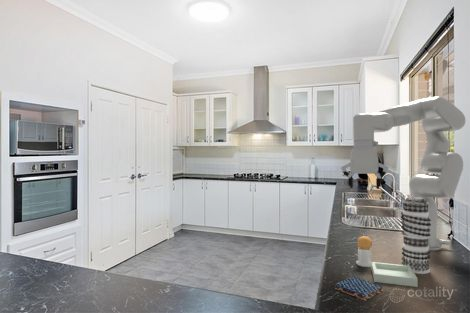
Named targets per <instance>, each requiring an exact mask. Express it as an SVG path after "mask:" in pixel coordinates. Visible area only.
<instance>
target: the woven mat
mask: <svg viewBox="0 0 470 313" xmlns="http://www.w3.org/2000/svg"><path fill="white" fill-rule="evenodd" d="M375 283H376V282H370V280H368V281H366V280H365V279H361V278H359V277H358V278H357V277H356V276H352V277H349V278H346V279H344V280H341V281H338V282H337V283H335V286H334V289H335V290H337V291H340V292H342V293H345V294H348V295H351V296H353V297H354V298H358V299H360V300H363V301H367V300H368V299H372V298H373V297H374V296H376V295H378V294H381V293H382V292H384V289H383V286H381V285H380V284H375Z"/></svg>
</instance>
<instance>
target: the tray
mask: <svg viewBox="0 0 470 313" xmlns="http://www.w3.org/2000/svg"><path fill="white" fill-rule="evenodd" d="M370 269H371V273H372V274H371V275H372V276H373V281H374V282H373V283H381V284H389V285H398V286H406V287H414V288H418V287H419V286H418V282H419V281H418V277H417V276H416V273H414V272H413V270H412V268H411V267H410V266H408V265H402V264H396V263H386V262H377V261H371V267H370Z"/></svg>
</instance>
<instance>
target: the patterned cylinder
mask: <svg viewBox="0 0 470 313" xmlns="http://www.w3.org/2000/svg"><path fill="white" fill-rule="evenodd" d="M402 203H403V206H402V207H403V209H402V212H401V213H400V215H401V216H400V219H401V220H402V221H401V229H402V231H401V235H402V236H403V241H402V242H403V243H402V248H401V251H402V252H401V255H402V257H401V260H402V262H401V265H408V266H410V267H411V268H412V270H413V272H414V273H415V274H419V275H425V274H430V272H431V271H430V268H431V266H430V264H431V261H430V260H429V259H431V256H430V254H431V251H430V250H429V245H428V238H430V234H429V233H428V232H430V229H428V226H430V225H431V224H430V223H428V221H431V219H429V218H428V216H429V212H428V204H429V203H428V202H427V201H426V199H424V198H419V197H411V196H409V197H406V198H405V199H404V200H403V201H402Z"/></svg>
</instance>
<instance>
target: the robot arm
mask: <svg viewBox="0 0 470 313" xmlns="http://www.w3.org/2000/svg"><path fill="white" fill-rule="evenodd" d="M352 121H353V122H352V123H353V125H352V128H353V129H352V130H353V131H352V133H353V148H352V149H351V154H350V162H349V163H347V164H345V165H343V166H341V168H340V169H341V171H342V172H343V174H344V175H345V176H346V177H347V178H348V186H349V188H350V189H353V188H354V177H353V176H354V175H355V174H357V175H358V174H363V175H364V174H365V175H367V174H374V175H375V176H376V182H375V183H376V184H375V185H376V189H377V190H379V188H380V187H381V186H382V183H381V182H382V178H383V177H384V176H385V175H386V174H387V172H388V170H389V167H388V166H387V165H385V164H383V163H380V162H379V155H378V149H377V148H376V147H375V146H378V145H379V141H376V140H375V134H376V133H385V132H389V131H391V130H392V128H393V127H396V128H397V127H401V126H406V125H410V124H413V123H415V122H418V121H421V126H422V128H423V131H424V133H425V135H426V139H427V144H426V148H425V150H424V152H423V156H422V159H421V162H420V170H422V171H423V172H424V173H423V174H422V173H420V174H416V175H413V176H412V177H411V178H410V180H409V183H408V184H409V185H408V186H409V191H410V197H419V198H424V199H426V201H427V202H428V203H429V204H428V212H429V216H428V218H429V219H431V221H428V223H430V224H431V225H430V226H428V229H430V232H428V233H429V234H430V238H428V245H429V251H430V252H433V251H434V252H435V251H441V250H442V248H443V245H446V246H451V245H452V242H451V240H450V239H449V240H448V239H447V240H446V239H442V238H440V237H438V204H437V202H436V201H435V198H436V199H445V200H446V199H450V198H452V197H453V196H454V195H455V193H456V191H457V187H458V185H459V182H460V179H461V176H462V174H463V173H462V172H463V170H464V160H463V157H462V156H461V155H460V154H459V153H457V152H454V151H449V149H450V146H451V144H450V140H449V139H448V137H447V136H446V134H445V133H444V132H453V131H459V130H461V129H462V128H464V126H465V125H466V116H465V114H464V113H463V111H461V109H460V108H458V107H457V106H456V105H455V104H453V103H452V102H451V101H450V100H448V99H446V98H444V97H442V96H432V97H427V98H422V99H421V98H420V99H417V100H414V101H410V102H407V103H403V104H400V105H397V106H393V107H390V108H387V109H383V110H380V111H376V112H372V113H368V112H366V113H365V112H364V113H363V112H362V113H361V112H360V113H356V114H355V115H353V117H352ZM348 168H349V169H350V172H349V171H347V169H348ZM379 168H382V169H383V170H382V172H379V170H380V169H379ZM381 188H382V187H381Z"/></svg>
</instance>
